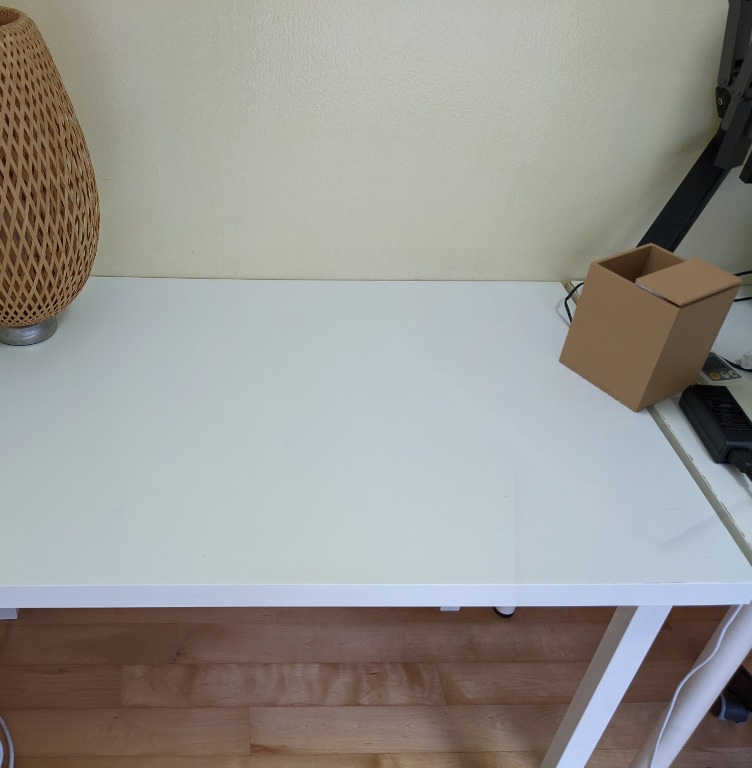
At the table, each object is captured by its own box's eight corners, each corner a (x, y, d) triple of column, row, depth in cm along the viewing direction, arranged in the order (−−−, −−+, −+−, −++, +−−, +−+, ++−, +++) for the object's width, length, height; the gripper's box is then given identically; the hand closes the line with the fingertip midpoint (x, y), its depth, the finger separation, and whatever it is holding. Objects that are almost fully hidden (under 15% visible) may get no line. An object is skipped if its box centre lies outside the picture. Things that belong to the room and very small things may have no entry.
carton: (693, 385, 97) (741, 285, 88) (635, 412, 93) (679, 309, 84) (615, 338, 106) (651, 242, 97) (558, 360, 101) (590, 262, 92)
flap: (741, 282, 88) (743, 279, 88) (680, 306, 84) (681, 303, 84) (696, 259, 92) (697, 257, 92) (635, 281, 88) (636, 278, 88)
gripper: (740, -108, 69) (650, 150, 84) (896, -91, 60) (766, 195, 75) (789, -110, 72) (694, 139, 86) (945, -95, 63) (810, 180, 78)
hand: (727, 164), depth 81 cm, fingers closed
